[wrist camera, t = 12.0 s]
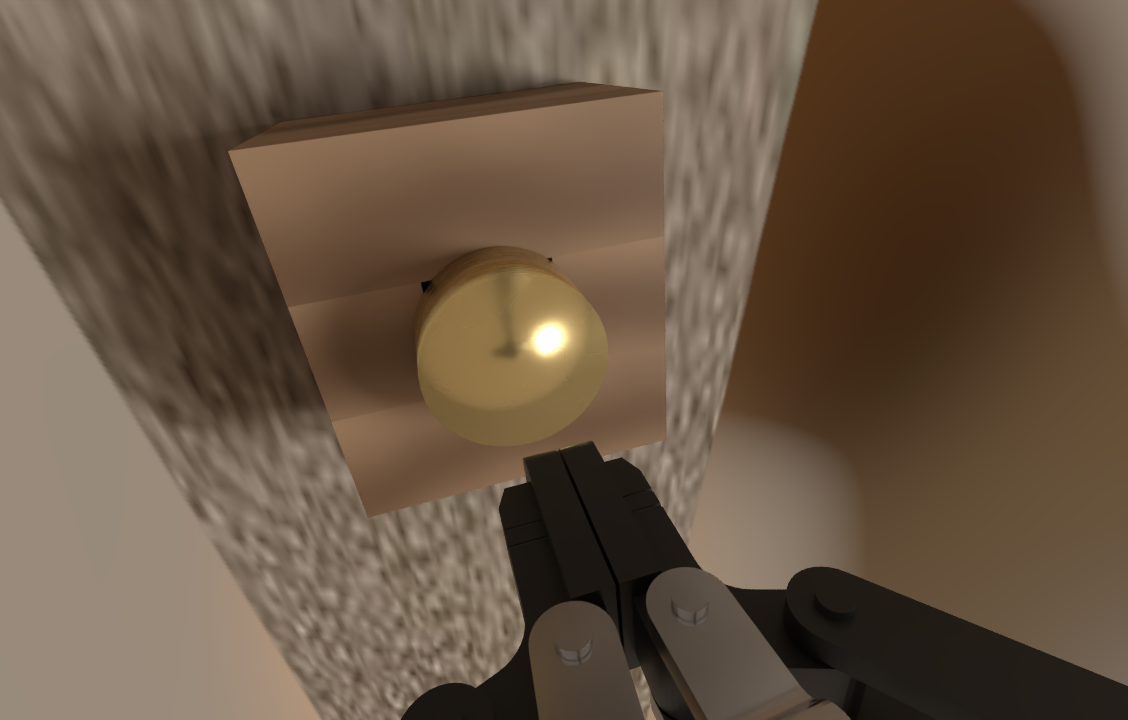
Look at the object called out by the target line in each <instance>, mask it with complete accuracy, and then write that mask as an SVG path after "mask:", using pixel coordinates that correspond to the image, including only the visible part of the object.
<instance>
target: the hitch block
mask: <svg viewBox="0 0 1128 720" xmlns="http://www.w3.org/2000/svg"><path fill="white" fill-rule="evenodd" d="M228 153H229V155H230V158H231V160H232V163H233V166H234V168H235V171H236V173H237V176H238V179H239V181H240V184H241V187H242V189H243V192H244V194H245V197H246V200H247V202H248V205H249V207H250V210H251V213H252V215H253V218H254V221H255V223H256V226H257V228H258V231H259V234H260V236H261V239H262V241H263V244H264V247H265V249H266V252H267V255H268V257H269V260H270V262H271V265H272V268H273V270H274V273H275V275H276V278H277V281H278V283H279V286H280V289H281V291H282V294H283V296H284V299H285V302H286V304H287V307H288V310H289V312H290V315H291V317H292V320H293V323H294V325H295V328H296V330H297V333H298V336H299V338H300V341H301V344H302V346H303V349H304V351H305V354H306V357H307V359H308V362H309V364H310V367H311V370H312V372H313V375H314V378H315V380H316V383H317V385H318V388H319V391H320V393H321V396H322V398H323V401H324V404H325V406H326V409H327V412H328V414H329V417H330V419H331V422H332V425H333V427H334V430H335V432H336V435H337V438H338V440H339V443H340V446H341V448H342V451H343V453H344V456H345V459H346V461H347V464H348V467H349V469H350V472H351V474H352V477H353V480H354V482H355V485H356V487H357V490H358V493H359V495H360V498H361V501H362V503H363V506H364V508H365V511H366V514H367V516H368V517H372V516H376V515H380V514H383V513H387V512H391V511H395V510H399V509H403V508H406V507H410V506H414V505H418V504H422V503H425V502H429V501H433V500H437V499H441V498H445V497H448V496H452V495H456V494H460V493H464V492H467V491H471V490H475V489H479V488H483V487H487V486H490V485H494V484H498V483H502V482H506V481H509V480H513V479H517V478H521V477H525V470H524V464H523V458H524V457H528V456H532V455H536V454H540V453H544V452H548V451H552V450H557V451H558V449H559V448H563V447H567V446H571V445H575V444H578V443H582V442H586V441H590V440H592V441H593V442H594V444H595V446H596V447H597V449H598V451H599V453H600V455H601V456H605V455H609V454H612V453H616V452H620V451H624V450H628V449H632V448H635V447H639V446H643V445H647V444H651V443H654V442H658V441H662V440H666V360H665V267H664V173H663V91H657V90H648V89H639V88H630V87H622V86H613V85H604V84H595V83H586V82H581V83H573V84H565V85H558V86H550V87H542V88H535V89H527V90H520V91H512V92H504V93H497V94H489V95H482V96H474V97H466V98H459V99H451V100H443V101H436V102H428V103H421V104H413V105H405V106H398V107H390V108H382V109H375V110H367V111H360V112H352V113H344V114H337V115H329V116H322V117H314V118H306V119H299V120H291V121H283V122H280V123H278V124H276V125H274V126H272V127H271V128H269V129H267V130H265V131H263V132H262V133H260V134H258V135H256V136H254V137H253V138H251V139H249V140H247V141H245V142H244V143H242V144H240V145H238V146H236V147H235V148H233V149H231V150H229V151H228ZM494 246H513V247H520V248H524V249H528V250H531V251H534V252H536V253H539V254H541V255H543V256H545V257H546V258H548V259H549V260H551V261H552V262H554V263H555V264H556V265H557V266H558V267H560V268H561V269H562V271H563V272H564V273H565V274H566V275H567V276H568V277H569V279H570V280H571V281H572V282H573V284H574V285H575V286H576V287H577V288H578V290H579V291H580V292H581V293H582V295H583V296H584V297H585V298H586V299H587V301H588V302H589V303H590V304H591V305H592V307H593V308H594V310H595V311H596V313H597V314H598V316H599V317H600V320H601V322H602V324H603V326H604V329H605V333H606V336H607V342H608V362H607V369H606V373H605V376H604V379H603V382H602V384H601V387H600V389H599V391H598V392H597V394H596V396H595V398H594V399H593V401H592V402H591V403H590V405H589V406H588V407H587V408H586V409H585V411H584V412H583V413H582V414H581V415H580V416H579V417H578V418H576V419H575V420H574V421H573V422H572V423H571V424H569V425H568V426H566V427H565V428H563V429H562V430H560V431H558V432H557V433H555V434H553V435H551V436H549V437H546V438H544V439H542V440H539V441H535V442H532V443H528V444H523V445H518V446H490V445H484V444H480V443H476V442H472V441H470V440H467V439H465V438H462V437H460V436H459V435H457V434H455V433H453V432H452V431H450V430H449V429H448V428H446V427H445V426H444V425H443V424H442V423H441V422H440V421H439V420H438V419H437V418H436V417H435V416H434V414H433V413H432V412H431V411H430V409H429V407H428V405H427V404H426V402H425V400H424V397H423V395H422V392H421V389H420V384H419V378H418V367H417V355H416V344H415V327H414V325H415V316H416V311H417V308H418V304H419V302H420V299H421V297H422V295H423V293H424V291H425V289H426V288H427V286H428V283H427V281H430V280H432V279H433V278H434V277H435V276H436V275H437V274H438V273H439V272H440V271H441V270H442V269H443V268H444V267H445V266H447V265H448V264H449V263H451V262H452V261H454V260H455V259H457V258H459V257H461V256H463V255H465V254H467V253H470V252H472V251H475V250H478V249H482V248H486V247H494Z"/></svg>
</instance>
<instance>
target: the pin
mask: <svg viewBox="0 0 1128 720" xmlns="http://www.w3.org/2000/svg"><path fill="white" fill-rule="evenodd" d="M414 327H415V344H416V355H417V367H418V378H419V384H420V389H421V392H422V395H423V397H424V400H425V402H426V404H427V405H428V407H429V409H430V411H431V412H432V413H433V414H434V416H435V417H436V418H437V419H438V420H439V421H440V422H441V423H442V424H443V425H444V426H445V427H446V428H448V429H449V430H450V431H452V432H453V433H455V434H457V435H459V436H460V437H462V438H465V439H467V440H470V441H472V442H476V443H480V444H484V445H490V446H518V445H523V444H528V443H532V442H535V441H539V440H542V439H544V438H546V437H549V436H551V435H553V434H555V433H557V432H558V431H560V430H562V429H563V428H565V427H566V426H568V425H569V424H571V423H572V422H573V421H574V420H575V419H576V418H578V417H579V416H580V415H581V414H582V413H583V412H584V411H585V409H586V408H587V407H588V406H589V405H590V403H591V402H592V401H593V399H594V398H595V396H596V394H597V392H598V391H599V389H600V387H601V384H602V382H603V379H604V376H605V373H606V369H607V362H608V342H607V336H606V333H605V329H604V326H603V324H602V322H601V320H600V317H599V316H598V314H597V313H596V311H595V310H594V308H593V307H592V305H591V304H590V303H589V302H588V301H587V299H586V298H585V297H584V296H583V295H582V293H581V292H580V291H579V290H578V288H577V287H576V286H575V285H574V284H573V282H572V281H571V280H570V279H569V277H568V276H567V275H566V274H565V273H564V272H563V271H562V269H561V268H560V267H558V266H557V265H556V264H555V263H554V262H552V261H551V260H549V259H548V258H546V257H545V256H543V255H541V254H539V253H536V252H534V251H531V250H528V249H524V248H520V247H513V246H494V247H486V248H482V249H478V250H475V251H472V252H470V253H467V254H465V255H463V256H461V257H459V258H457V259H455V260H454V261H452V262H451V263H449V264H448V265H447V266H445V267H444V268H443V269H442V270H441V271H440V272H439V273H438V274H437V275H436V276H435V277H434V278H433V279H432V281H431V282H430V283H429V284H428V286H427V288H426V289H425V291H424V293H423V295H422V297H421V299H420V302H419V304H418V308H417V311H416V316H415V325H414Z"/></svg>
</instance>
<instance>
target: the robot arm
mask: <svg viewBox="0 0 1128 720" xmlns="http://www.w3.org/2000/svg"><path fill="white" fill-rule="evenodd" d="M523 464H524V470H525V476H526V481H527V483H524V484H520V485H516V486H513V487H509V488H505V489H504V492H503V496H502V499H501V503H500V506H499V513H500V517H501V522H502V527H503V531H504V536H505V540H506V545H507V550H508V554H509V559H510V563H511V567H512V571H513V576H514V580H515V584H516V588H517V592H518V597H519V601H520V605H521V609H522V613H523V618H524V622H525V631H524V637H523V640H522V642H521V645H520V647H519V649H518V651H517V653H516V654H515V655H514V657H513V658H512V660H511V661H510V662H509V663H508V664H507V665H506V666H505V667H504V668H503V669H501V670H500V671H499V672H498V673H496V674H495V675H493V676H492V677H491V678H489V679H488V680H486V681H485V682H484V683H482V684H481V685H479V686H478V687H477V688H474V687H472V686H471V685H467V684H463V683H448V684H444V685H440V686H437V687H435V688H433V689H431V690H429V691H427V692H426V693H424V694H423V695H421V696H420V697H419V698H418V699H417V700H415V702H414V703H413V704H412V705H411V706H410V707H409V708H408V709H407V711H406V712H405V714H404V715H403V717H402V718H401V720H645V719H644V715H643V712H642V709H641V706H640V703H639V699H638V696H637V693H636V690H635V686H634V683H633V680H632V677H631V673H630V670H631V669H634V668H637V667H639V666H641V668H642V671H643V673H644V675H645V678H646V680H647V683H648V685H649V688H650V703H651V707H652V711H653V713H654V716H655V718H656V720H1128V686H1126V685H1124V684H1121V683H1119V682H1116V681H1114V680H1111V679H1109V678H1106V677H1104V676H1101V675H1099V674H1097V673H1094V672H1092V671H1089V670H1087V669H1084V668H1081V667H1079V666H1077V665H1074V664H1072V663H1069V662H1067V661H1064V660H1062V659H1059V658H1057V657H1055V656H1052V655H1050V654H1047V653H1045V652H1042V651H1040V650H1037V649H1035V648H1032V647H1029V646H1027V645H1025V644H1022V643H1020V642H1018V641H1015V640H1013V639H1010V638H1008V637H1005V636H1003V635H1000V634H998V633H995V632H993V631H990V630H988V629H985V628H983V627H980V626H978V625H975V624H973V623H971V622H968V621H966V620H963V619H961V618H958V617H956V616H953V615H951V614H948V613H946V612H943V611H941V610H938V609H936V608H933V607H931V606H929V605H926V604H924V603H921V602H919V601H916V600H914V599H911V598H909V597H906V596H904V595H901V594H899V593H896V592H894V591H892V590H889V589H886V588H884V587H882V586H879V585H877V584H874V583H872V582H869V581H867V580H864V579H862V578H859V577H857V576H854V575H852V574H850V573H847V572H844V571H841V570H839V569H835V568H830V567H812V568H807V569H804V570H802V571H800V572H798V573H797V574H795V575H794V576H793V578H791V580H790V582H789V583H788V587H787V590H755V589H754V590H753V589H752V590H751V589H740V588H735V587H731V586H728V585H725V584H724V583H723V582H722V581H720V580H719V579H718V578H717V577H715V576H714V575H712V574H711V573H708V572H706V571H704V570H702V569H701V568H700V566H699V565H698V564H697V562H696V561H695V559H694V557H693V556H692V554H691V553H690V551H689V549H688V548H687V546H686V544H685V543H684V541H683V539H682V538H681V536H680V535H679V533H678V531H677V530H676V528H675V526H674V525H673V523H672V521H671V520H670V518H669V517H668V515H667V513H666V512H665V510H664V508H663V507H661V505H660V502H659V500H658V499H657V497H656V495H655V494H654V492H652V490H651V487H650V485H649V484H648V482H647V481H646V479H645V477H644V476H643V474H642V472H641V471H640V470H639V469H638V468H636V467H635V466H633V465H632V464H630V463H629V462H627V461H626V460H625V459H623V458H618V459H614V460H610V461H606V462H604V461H603V459H602V457H601V455H600V453H599V451H598V449H597V447H596V446H595V444H594V442H593V441H592V440H590V441H586V442H582V443H578V444H575V445H571V446H567V447H563V448H559V449H558V451H557V450H552V451H548V452H544V453H540V454H536V455H532V456H528V457H524V458H523Z"/></svg>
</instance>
